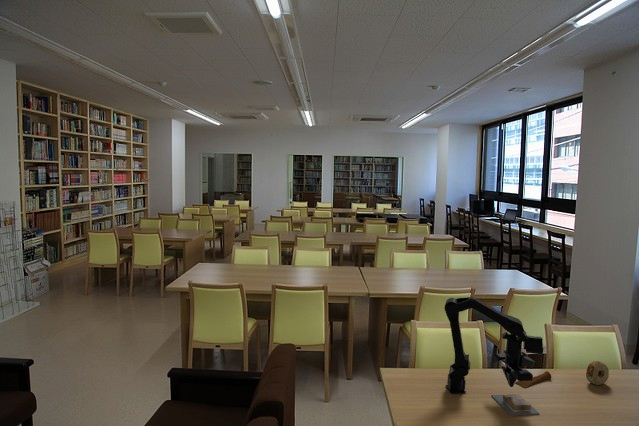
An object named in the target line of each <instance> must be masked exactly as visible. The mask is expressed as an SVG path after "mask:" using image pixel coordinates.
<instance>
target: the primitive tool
mask: <svg viewBox="0 0 639 426" xmlns="http://www.w3.org/2000/svg"><path fill="white" fill-rule="evenodd" d="M551 379H552V375H551V373H550V372H549V371H547V370H546V371H544V372H543V373H541V374H538V375H536V376H533V380H532V381H518V380H516V382H515V384H514V385H517V386H519V387H521V388H523V389H528V388H530V387H531V386H534V385H536V384H539V383H541V382H543V381H545V380H551Z"/></svg>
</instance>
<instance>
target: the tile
mask: <svg viewBox="0 0 639 426" xmlns="http://www.w3.org/2000/svg"><path fill="white" fill-rule="evenodd" d="M502 395H503V401H504V402H505V403H506V404H507V405H508V406H509V407H510V408H511V409H512V410H513V411H514V412H516V411H531V406H532V404H531V403H530V402H529V401H527V400H526V399H525V398H524V397H523V396H522V395H521V394H520V393H512V394H511V393H510V394H509V393H508V394H505V393H504V394H502Z"/></svg>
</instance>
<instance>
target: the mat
mask: <svg viewBox="0 0 639 426" xmlns="http://www.w3.org/2000/svg"><path fill="white" fill-rule="evenodd" d="M503 395H504V394H491V395H490V396H491V398H492V399H493V400H495V402H496V403H498V405H499V406H500V407H501V408H503V410H504V411H505V412H506V413H507V414H508V415H509V416H513V417H514V416H530V415H531V416H532V415H534V416H535V415H540V414H541V413H540V412H539V411H538V410H537V409H536V408H535V407H533V405H531V411H516V412H514V411H513V410H512V409H511V408H510V407H509V406H508V405H507V404H506V403H505V402H504V401H503Z"/></svg>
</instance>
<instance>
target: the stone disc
mask: <svg viewBox="0 0 639 426" xmlns="http://www.w3.org/2000/svg"><path fill="white" fill-rule="evenodd" d="M609 375H610V374H609V367H608V365H606V363H604V362H602V361H599V360H595V361H592V362H590V363H589V364H588V366H587V367H586V373H585V376H586V379H587V381H588V382H589V383H590V384H592V385H597V386H599V385H602V384H605V383H607V381H608V379H609Z"/></svg>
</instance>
